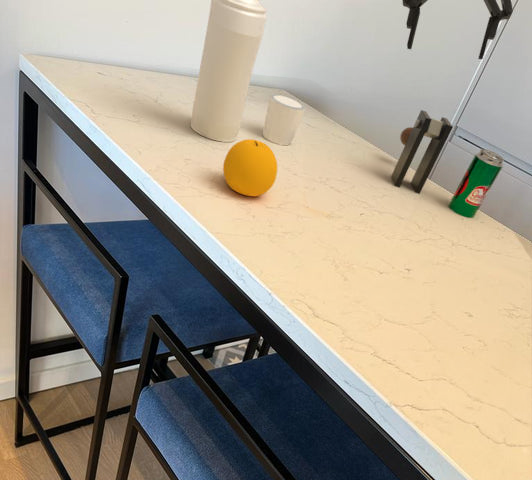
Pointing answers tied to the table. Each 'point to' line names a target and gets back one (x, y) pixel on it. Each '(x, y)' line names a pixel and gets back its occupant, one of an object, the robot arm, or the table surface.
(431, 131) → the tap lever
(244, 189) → the orange fruit
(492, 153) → the soda can
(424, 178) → the dark brown parallel bars
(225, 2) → the spray can
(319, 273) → the table surface
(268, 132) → the white cylinder
